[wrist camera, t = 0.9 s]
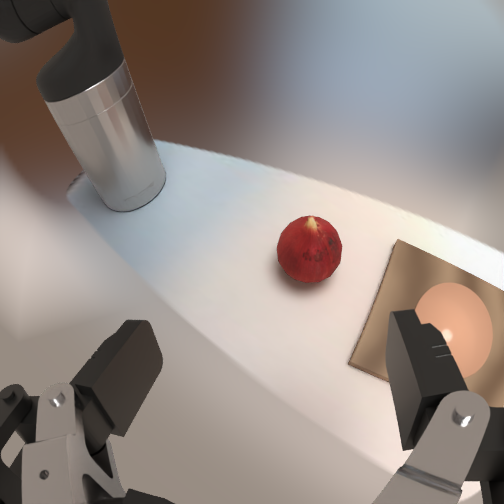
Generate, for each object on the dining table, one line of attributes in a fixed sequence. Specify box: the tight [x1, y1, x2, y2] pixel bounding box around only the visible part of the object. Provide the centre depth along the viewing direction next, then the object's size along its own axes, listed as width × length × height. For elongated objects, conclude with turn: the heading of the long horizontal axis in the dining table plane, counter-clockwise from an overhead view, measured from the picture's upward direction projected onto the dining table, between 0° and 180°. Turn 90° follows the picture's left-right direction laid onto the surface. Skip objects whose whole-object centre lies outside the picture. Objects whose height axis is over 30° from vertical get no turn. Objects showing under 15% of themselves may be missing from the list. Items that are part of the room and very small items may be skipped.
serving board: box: [348, 239, 504, 407], centre depth 25 cm, size 18×14×1 cm
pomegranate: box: [277, 216, 342, 283], centre depth 28 cm, size 6×6×8 cm
